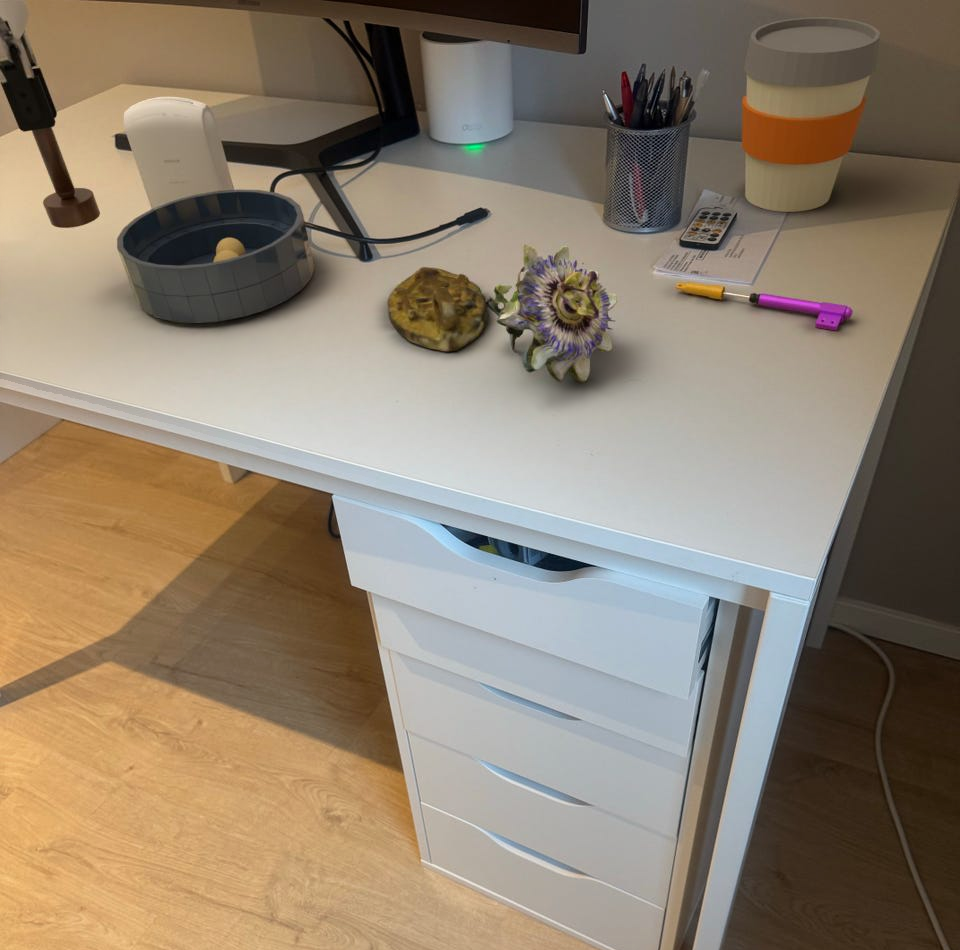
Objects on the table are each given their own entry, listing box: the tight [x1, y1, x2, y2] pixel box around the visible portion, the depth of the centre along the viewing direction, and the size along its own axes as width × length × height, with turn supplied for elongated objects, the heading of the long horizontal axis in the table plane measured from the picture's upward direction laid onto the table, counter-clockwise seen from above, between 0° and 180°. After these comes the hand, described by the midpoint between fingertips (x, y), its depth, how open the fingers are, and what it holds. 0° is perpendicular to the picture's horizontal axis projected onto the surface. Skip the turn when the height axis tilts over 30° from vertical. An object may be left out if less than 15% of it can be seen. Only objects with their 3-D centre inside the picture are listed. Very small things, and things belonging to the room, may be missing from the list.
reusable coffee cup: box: [741, 16, 881, 213], centre depth 93 cm, size 12×13×15 cm
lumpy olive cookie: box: [387, 266, 489, 352], centre depth 84 cm, size 9×5×15 cm
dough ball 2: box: [213, 250, 239, 262], centre depth 91 cm, size 3×3×3 cm
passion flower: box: [486, 244, 618, 384], centre depth 76 cm, size 11×11×12 cm
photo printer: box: [123, 96, 235, 209], centre depth 102 cm, size 10×4×12 cm, turn 81°
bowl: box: [116, 188, 315, 324], centre depth 91 cm, size 18×18×6 cm
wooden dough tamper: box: [18, 56, 101, 229], centre depth 84 cm, size 5×5×14 cm
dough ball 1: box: [216, 238, 246, 256], centre depth 93 cm, size 3×3×3 cm
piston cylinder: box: [675, 281, 854, 331], centre depth 82 cm, size 3×1×16 cm
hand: (39, 122), depth 83 cm, fingers closed on wooden dough tamper
